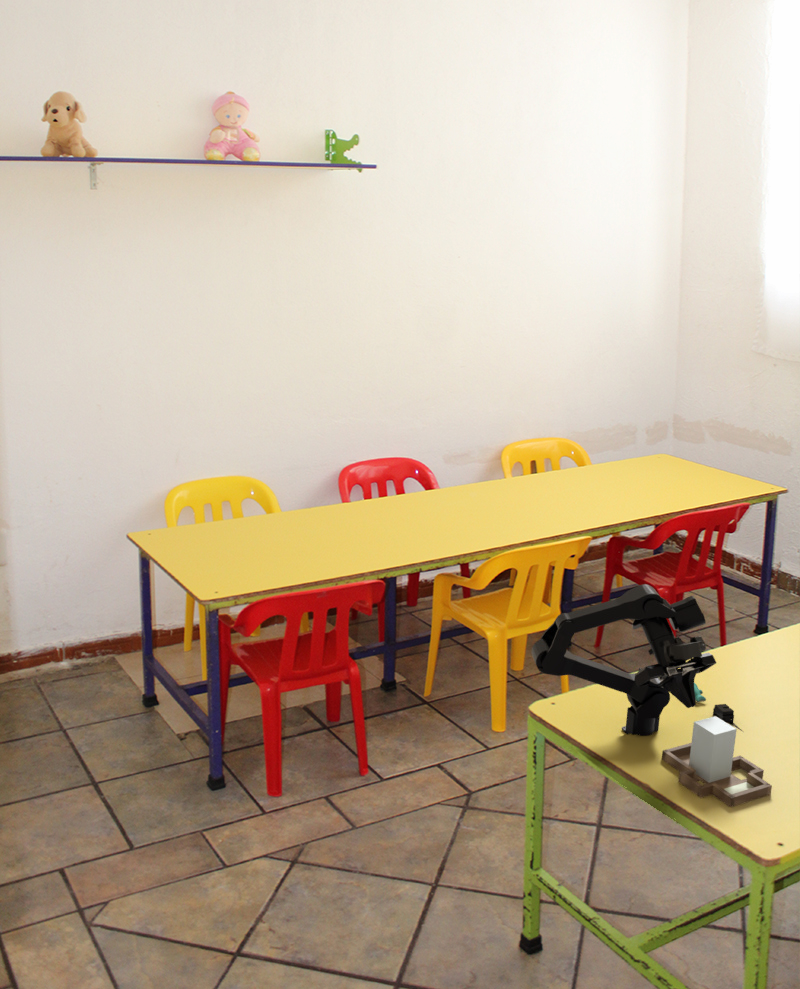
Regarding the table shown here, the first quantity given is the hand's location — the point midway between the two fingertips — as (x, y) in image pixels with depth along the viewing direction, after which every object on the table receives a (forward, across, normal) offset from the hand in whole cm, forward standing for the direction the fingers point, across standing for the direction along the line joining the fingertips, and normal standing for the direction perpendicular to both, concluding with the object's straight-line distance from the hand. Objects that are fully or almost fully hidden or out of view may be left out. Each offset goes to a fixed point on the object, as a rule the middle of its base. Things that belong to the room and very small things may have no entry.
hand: (691, 706), depth 209 cm
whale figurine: (-6, +23, +26) cm, 35 cm away
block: (+13, 0, +4) cm, 14 cm away
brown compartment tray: (+15, 0, +3) cm, 16 cm away
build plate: (+3, +20, +17) cm, 26 cm away
